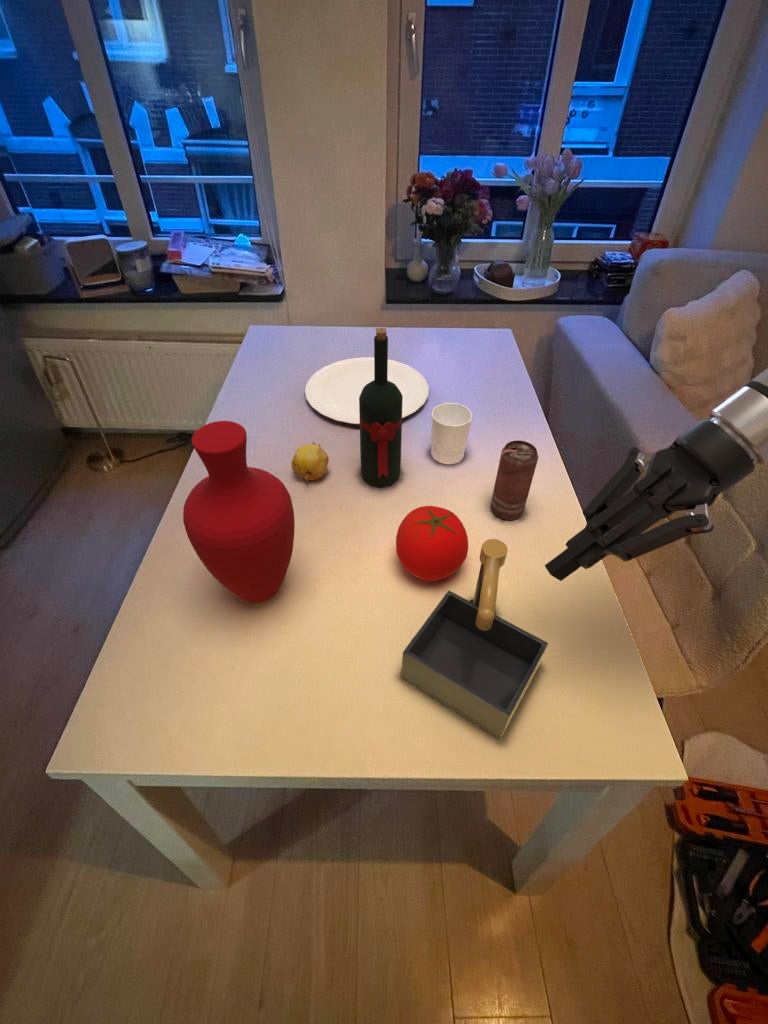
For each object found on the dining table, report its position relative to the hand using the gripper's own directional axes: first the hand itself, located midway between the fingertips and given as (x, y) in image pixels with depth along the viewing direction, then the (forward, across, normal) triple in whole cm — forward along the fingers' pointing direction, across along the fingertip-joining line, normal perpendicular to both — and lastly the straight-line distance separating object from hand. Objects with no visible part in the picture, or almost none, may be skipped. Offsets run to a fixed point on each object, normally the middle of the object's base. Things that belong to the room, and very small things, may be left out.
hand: (552, 573), depth 64 cm
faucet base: (+15, +7, -10) cm, 20 cm away
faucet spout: (+8, +3, +1) cm, 9 cm away
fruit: (+29, +47, +4) cm, 55 cm away
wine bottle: (+20, +42, -6) cm, 47 cm away
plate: (+16, +72, -9) cm, 75 cm away
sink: (+19, -1, -6) cm, 20 cm away
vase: (+38, +22, +13) cm, 46 cm away
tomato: (+18, +19, -7) cm, 28 cm away
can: (+6, +28, -20) cm, 34 cm away
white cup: (+9, +46, -16) cm, 49 cm away
